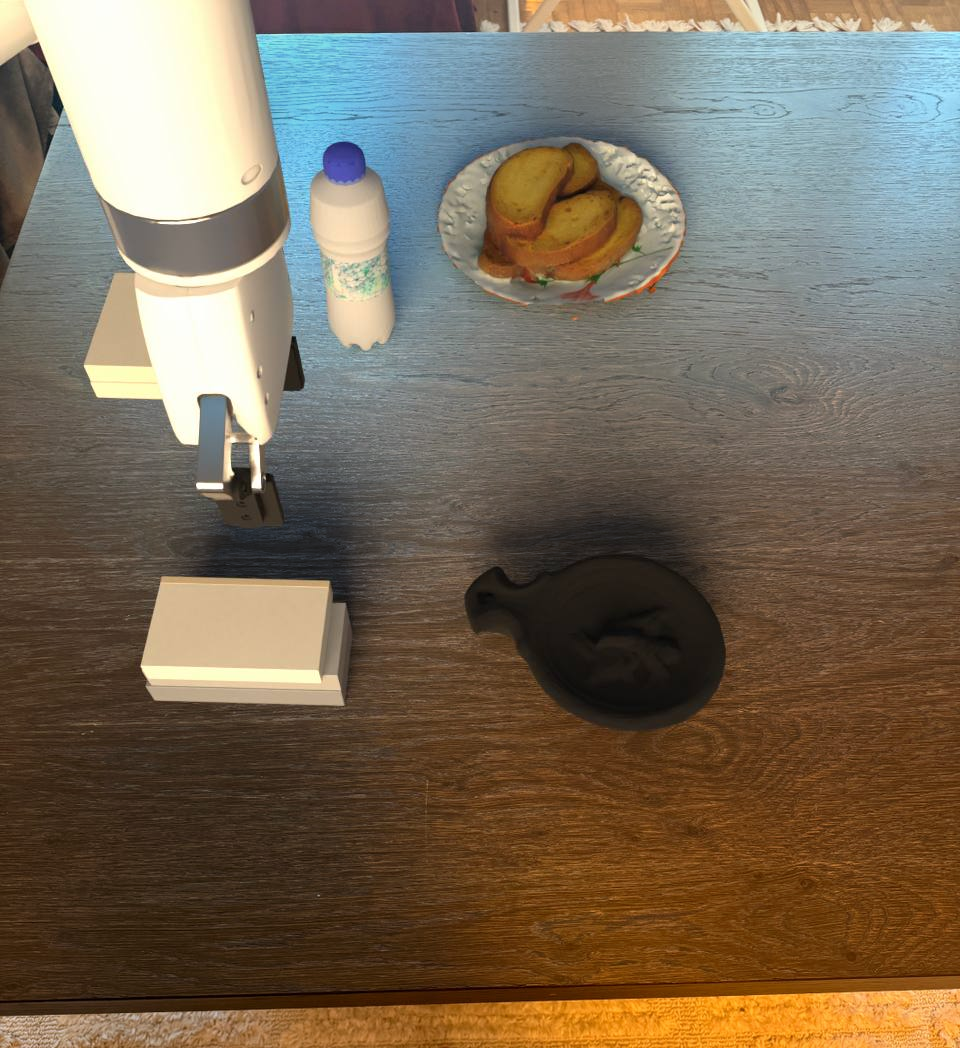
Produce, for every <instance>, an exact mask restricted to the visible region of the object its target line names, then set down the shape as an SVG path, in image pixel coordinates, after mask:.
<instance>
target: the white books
mask: <svg viewBox="0 0 960 1048" xmlns="http://www.w3.org/2000/svg"><path fill="white" fill-rule="evenodd" d="M134 277H135V272H115V273H114V275H113V278H112V280H111V283H110V286H109V289H108V293H107V295H106V298H105V300H104V304H103V307H102V310H101V313H100V316H99V319H98V322H97V325H96V328H95V330H94V333H93V336H92V339H91V341H90V344H89V345H90V346H89V348H88V350H87V354H86V357H85V360H84V363H83V368H84V370H85V372H86V373H87V376H88V379H89V380H90V385H91V388H92V389H93V391H94V394H95V395H96V397H97V398H98V399H99V398H100V399H101V398H102V399H103V398H104V399H105V398H106V399H136V400H137V399H139V400H140V399H141V400H163V399H162V396H161V393H160V390H159V387H158V384H157V380H156V377H155V374H154V371H153V367H152V364H151V361H150V357H149V354H148V350H147V346H146V342H145V338H144V334H143V330H142V325H141V320H140V315H139V310H138V304H137V299H136V292H135V284H134Z"/></svg>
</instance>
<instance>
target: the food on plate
mask: <svg viewBox="0 0 960 1048" xmlns="http://www.w3.org/2000/svg"><path fill="white" fill-rule="evenodd" d="M438 208H439V209H438V211H437V210H436V213H437V227H436V230H437V233H439V235H440V236H441V250H443V251H444V253H445V255H446V256H447V258H448V259H449V260H451V262H452V266H453V267H454V268H455V269H457V270H459V269H460V270H461V271H462V272H463V273H464V274H465V276H467V277H468V278H469V279H470V280H471V281H473V283H474V285H477V286H480V287H482V288H483V290H484V292H485V293H488V294H490V295H496V296H497V297H498V298H500V299H505V300H506V301H507V302H511V303H515V304H519V305H522V306H525V307H526V306H528V305H533V304H534V305H547V304H549V305H554V306H561V305H563V304H583V303H589V302H594V301H601V300H603V301H604V303H610V302H613V301H615V302H617V301H619V300H621V299H623V298H626V297H628V296H631V295H632V296H634V294H635V293H637V295H639V294H640V293H642V292H643V291H644V290H646V289H647V288H648V287H650V288H648V289H647V293H649V294H653V293H656V292H657V290H656V288H655V285H656V284H657V283H658V282H659V281H660V280H661V279H662V277H663V276H664V275H666V273H668V272H669V270H670V269H671V266H672V264H673V263H674V262H675V260H676V259H677V258H678V257H679V254H680V251H681V248H682V247H683V245H684V238H685V237H686V236H687V235H686V233H687V217H686V214H687V212H686V209H685V207H684V206H683V205H682V198H681V196H680V192H679V191H678V189H677V188H676V187H675V186H674V185H673V183H672V182H671V181H670V179H669V178H668V176H666V175H665V174H663V172H662V171H661V170H660V169H659V168H658V167H657V166H655V165H653V163H651V162H650V161H649V160H648V159H647V158H646V157H643V156H638V155H637V154H636V153H634V152H633V151H631V149H629V148H628V147H627V146H616V145H614V144H611V143H609V142H605V141H602V140H599V141H596V142H594V141H593V140H592V139H585V138H583V137H578V136H557V137H554V136H548V137H544V138H535V139H532V138H530V139H523V140H521V141H518V142H515V143H510V144H507V145H502V146H500V147H497V148H496V149H493V150H491V151H489V152H487V153H485V154H484V153H483V154H481V155H480V156H479V157H477V158H475V159H473V161H471V162H470V163H468V164H466V165H465V166H463V167H462V168H461V170H459V171H457V172H456V175H455V177H453V178H452V179H451V180H449V181H448V182H447V186H446V187H445V188H444V191H443V194H442V198H441V201H440V202H439V204H438ZM535 298H538V299H539V301H531V300H534V299H535ZM578 319H579V317H577V316H576V317H573V318H572V321H575V320H576V321H577V320H578Z"/></svg>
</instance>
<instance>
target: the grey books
mask: <svg viewBox="0 0 960 1048" xmlns="http://www.w3.org/2000/svg"><path fill="white" fill-rule="evenodd" d="M352 643H353V629H352V624H351V619H350V616H349V611H348V606H347V603H346V602H332V607H331V615H330V623H329V631H328V639H327V647H326V655H325V664H324V672H323V680H322V683H297V682H260V681H223V680H186V679H150V678H148V677H147V675H146V674H145V672H144V671H143V669H142V668H141V672H142V674H143V675H144V676H145V678H146V684H145V688H146V689H147V691H148V692H149V694H150V696H151V697H152V699H153V700H154V701H156V702H157V701H159V702H160V701H161V702H191V703H192V702H197V703H198V702H199V703H228V704H229V703H232V704H233V703H235V704H265V705H266V704H267V705H268V704H271V705H303V706H304V705H306V706H313V705H314V706H339V707H340V706H341V707H342V706H345V705H346V696H347V689H348V688H347V687H348V679H349V669H350V663H351V662H350V661H351V660H350V659H351V652H352Z"/></svg>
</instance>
